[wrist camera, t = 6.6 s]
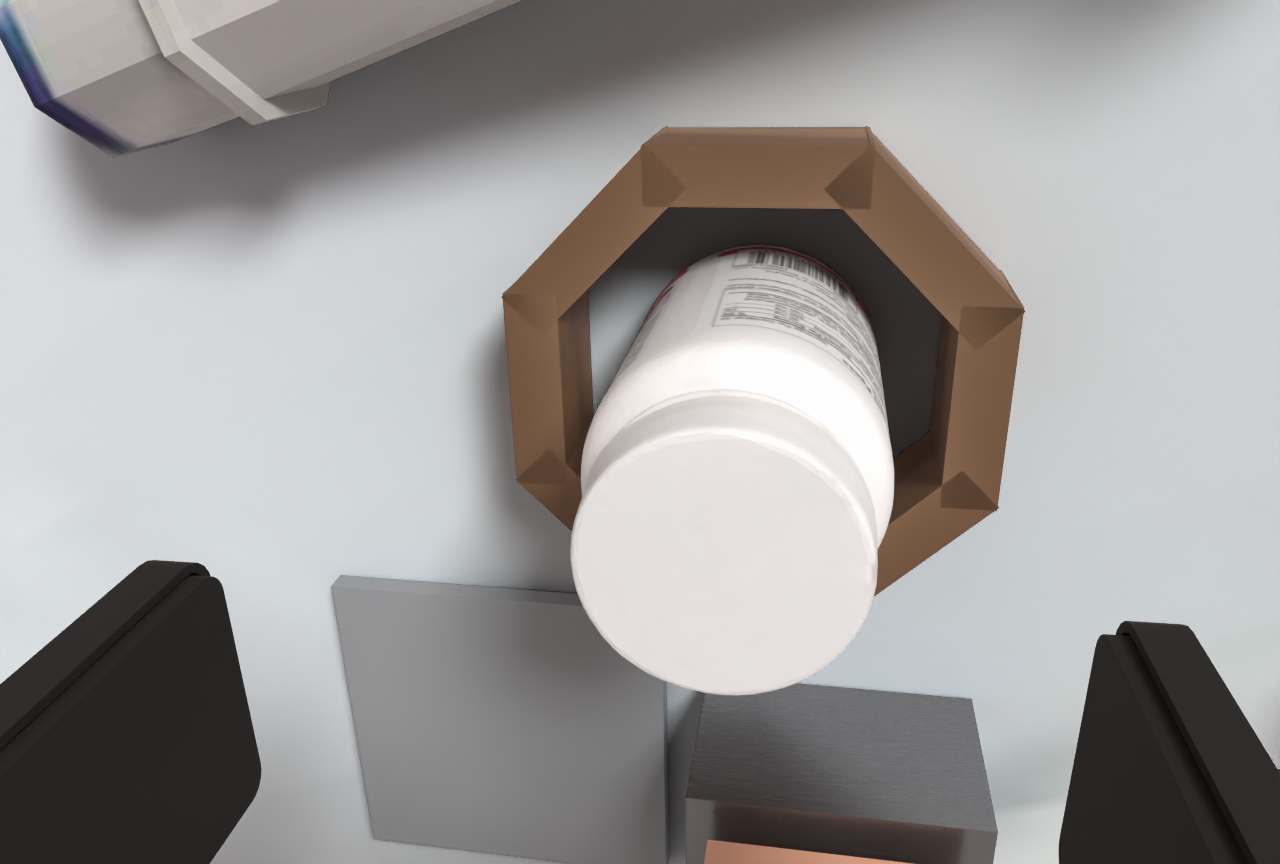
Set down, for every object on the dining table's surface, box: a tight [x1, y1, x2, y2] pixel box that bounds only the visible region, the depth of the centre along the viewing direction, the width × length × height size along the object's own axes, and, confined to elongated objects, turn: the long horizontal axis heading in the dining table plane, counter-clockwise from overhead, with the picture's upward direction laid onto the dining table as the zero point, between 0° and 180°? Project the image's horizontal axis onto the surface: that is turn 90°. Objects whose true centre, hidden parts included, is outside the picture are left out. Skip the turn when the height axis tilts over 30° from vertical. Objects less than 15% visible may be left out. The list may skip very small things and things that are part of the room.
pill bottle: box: [570, 245, 894, 695], centre depth 17 cm, size 5×5×8 cm
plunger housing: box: [686, 683, 998, 864], centre depth 23 cm, size 6×6×4 cm
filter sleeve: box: [502, 126, 1025, 596], centre depth 19 cm, size 9×9×2 cm
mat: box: [331, 575, 669, 864], centre depth 25 cm, size 8×8×1 cm
